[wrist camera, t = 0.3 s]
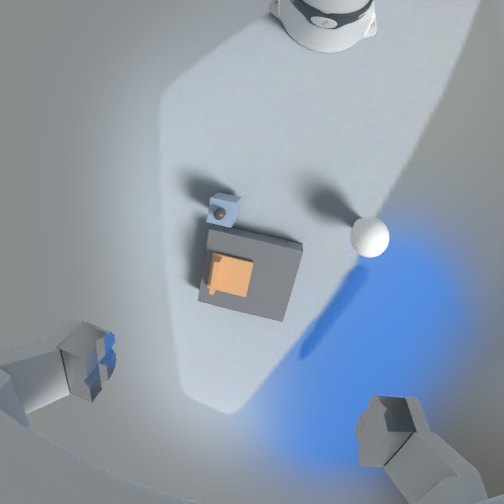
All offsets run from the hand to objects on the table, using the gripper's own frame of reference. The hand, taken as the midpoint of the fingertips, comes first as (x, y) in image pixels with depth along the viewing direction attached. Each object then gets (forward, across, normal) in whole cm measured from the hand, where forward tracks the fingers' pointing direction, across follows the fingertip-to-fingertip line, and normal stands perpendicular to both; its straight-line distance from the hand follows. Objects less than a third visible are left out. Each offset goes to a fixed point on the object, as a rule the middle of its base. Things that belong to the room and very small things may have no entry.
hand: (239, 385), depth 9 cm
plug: (+47, +8, +5) cm, 48 cm away
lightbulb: (+47, -15, +3) cm, 49 cm away
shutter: (+43, +5, +16) cm, 46 cm away
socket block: (+47, +2, +16) cm, 50 cm away
